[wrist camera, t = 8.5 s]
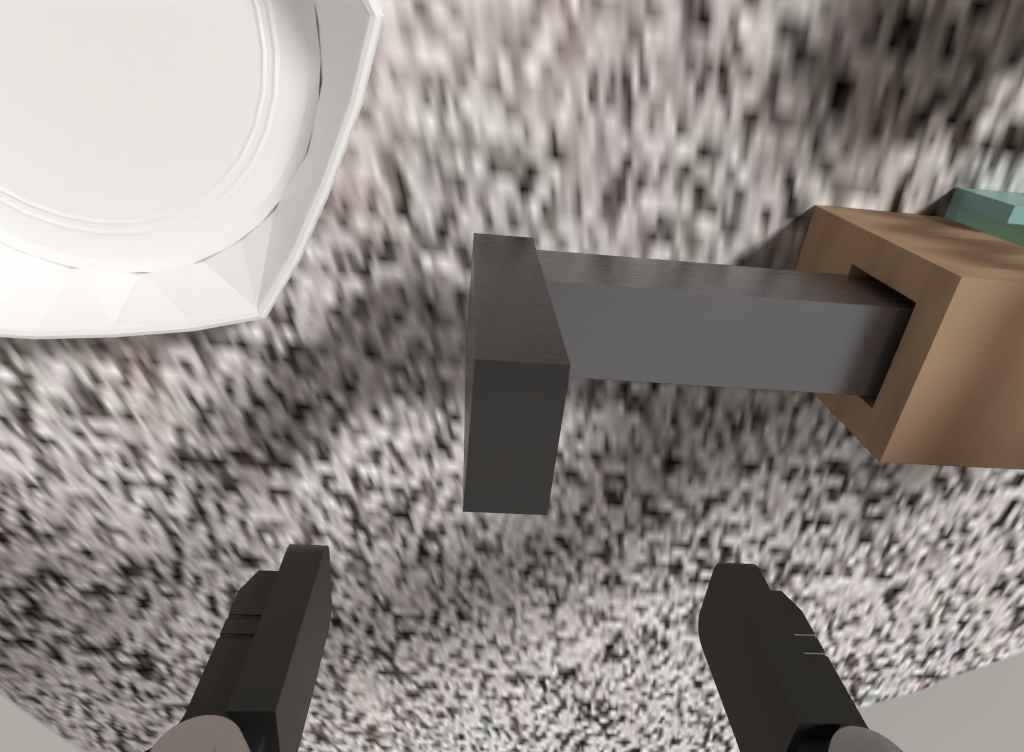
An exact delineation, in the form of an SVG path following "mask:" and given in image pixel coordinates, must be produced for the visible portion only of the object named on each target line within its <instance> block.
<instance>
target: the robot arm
mask: <svg viewBox="0 0 1024 752" xmlns="http://www.w3.org/2000/svg"><path fill="white" fill-rule="evenodd" d="M331 604H332V598H331V576H330V554H329V547H328V546H320V545H295V544H290V545H289V546H288V548H287V550H286V553H285V556H284V558H283V561H282V564H281V566H280V569H279V571H260V570H259V571H258V572H257V573H256V574H255V575H254V576H253V577H252V578H251V579H250V580H249V581H248V582H247V583H246V584H245V585H244V586H243V587H242V588H241V589H240V590H239V591H238V593H237V596H236V598H235V600H234V603H233V605H232V607H231V610H230V612H229V617H228V618H227V619H226V621H225V624H224V626H223V628H222V630H221V633H220V638H218V640H217V642H216V644H215V647H214V649H213V651H212V654H211V656H210V658H209V661H208V663H207V665H206V667H205V670H204V672H203V674H202V677H201V679H200V681H199V684H198V686H197V688H196V691H195V693H194V695H193V698H192V700H191V702H190V704H189V707H188V709H187V711H186V713H185V715H184V717H183V718H182V720H181V721H180V723H179V724H178V725H176V726H175V727H173V728H172V729H170V730H169V731H168V732H166V733H165V734H164V735H163V736H162V737H161V738H160V739H159V740H158V741H157V742H156V744H155V745H154V746H153V747H152V748H150V749H149V750H147V751H145V752H298V749H299V745H300V741H301V737H302V733H303V729H304V725H305V721H306V717H307V713H308V709H309V706H310V702H311V698H312V694H313V690H314V686H315V682H316V678H317V674H318V670H319V666H320V662H321V658H322V654H323V650H324V646H325V642H326V638H327V634H328V630H329V624H330V617H331ZM698 631H699V638H700V643H701V646H702V649H703V651H704V654H705V657H706V660H707V662H708V665H709V668H710V670H711V673H712V676H713V679H714V681H715V684H716V687H717V690H718V692H719V695H720V698H721V700H722V703H723V706H724V709H725V711H726V714H727V717H728V719H729V722H730V725H731V728H732V730H733V733H734V736H735V738H736V741H737V744H738V747H739V749H740V752H903V751H902V750H901V749H900V748H899V747H897V746H896V745H895V744H894V743H893V742H891V741H890V740H889V739H887V738H886V737H884V736H882V735H881V734H879V733H877V732H875V731H873V730H870V729H869V728H868V727H867V725H866V724H865V722H864V720H863V718H862V717H861V715H860V713H859V711H858V709H857V708H856V706H855V704H854V702H853V701H852V699H851V697H850V695H849V694H848V692H847V690H846V688H845V686H844V685H843V683H842V681H841V679H840V678H839V676H838V674H837V672H836V671H835V669H834V667H833V665H832V663H831V662H830V660H829V658H828V656H825V651H824V649H823V647H822V646H821V644H820V642H819V640H818V639H817V638H815V636H814V632H813V630H812V628H811V626H810V624H809V623H808V621H807V619H806V617H805V616H804V614H803V612H802V611H801V610H800V609H799V608H798V607H797V606H796V605H795V604H794V603H793V602H792V601H791V600H790V599H789V598H788V597H787V596H786V595H785V594H784V593H783V592H782V591H772V590H770V588H769V586H768V584H767V582H766V580H765V578H764V577H763V575H762V573H761V571H760V569H759V568H758V567H757V566H756V565H754V564H738V563H718V564H717V565H716V566H715V568H714V570H713V573H712V576H711V579H710V582H709V585H708V589H707V592H706V595H705V598H704V601H703V604H702V607H701V610H700V614H699V620H698Z"/></svg>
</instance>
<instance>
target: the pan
mask: <svg viewBox="0 0 1024 752" xmlns="http://www.w3.org/2000/svg"><path fill="white" fill-rule="evenodd" d="M383 18H384V15H383V13H382V11H381V9H380V6H379V4H378V2H377V0H0V337H7V338H22V339H65V338H104V337H124V336H137V335H150V334H163V333H176V332H189V331H197V330H203V329H209V328H214V327H220V326H225V325H231V324H237V323H242V322H248V321H253V320H259V319H264V318H267V316H268V314H269V313H270V311H271V309H272V307H273V306H274V304H275V302H276V301H277V299H278V297H279V296H280V294H281V292H282V290H283V289H284V287H285V285H286V284H287V282H288V280H289V279H290V277H291V275H292V274H293V272H294V270H295V268H296V267H297V265H298V263H299V262H300V260H301V258H302V255H303V253H304V251H305V248H306V246H307V244H308V242H309V239H310V237H311V235H312V232H313V230H314V228H315V226H316V223H317V221H318V219H319V216H320V214H321V212H322V209H323V207H324V205H325V203H326V200H327V198H328V196H329V193H330V191H331V189H332V186H333V183H334V181H335V178H336V175H337V173H338V170H339V167H340V164H341V162H342V159H343V156H344V153H345V151H346V148H347V145H348V142H349V140H350V137H351V134H352V131H353V129H354V126H355V123H356V120H357V118H358V115H359V112H360V110H361V107H362V103H363V99H364V95H365V91H366V87H367V83H368V79H369V75H370V71H371V67H372V63H373V59H374V55H375V51H376V46H377V42H378V38H379V34H380V30H381V26H382V22H383Z"/></svg>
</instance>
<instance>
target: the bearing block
mask: <svg viewBox="0 0 1024 752" xmlns="http://www.w3.org/2000/svg"><path fill="white" fill-rule="evenodd" d="M795 271H806V272H819V273H831V274H843V275H856V276H868V277H875V278H876V279H878V280H880V281H881V282H883V283H885V284H886V285H888V286H890V287H891V288H893V289H895V290H896V291H898V292H900V293H901V294H903V295H905V296H906V297H908V298H910V299H911V300H913V301H915V302H916V305H915V308H914V310H913V313H912V315H911V317H910V320H909V322H908V325H907V327H906V329H905V332H904V334H903V337H902V339H901V342H900V344H899V346H898V349H897V351H896V354H895V356H894V358H893V361H892V363H891V366H890V368H889V370H888V373H887V375H886V378H885V380H884V382H883V385H882V387H881V390H880V392H879V394H878V396H863V395H847V394H830V393H814V392H813V393H814V394H815V395H816V396H817V397H818V398H819V399H820V400H821V401H822V402H823V403H824V404H825V405H826V406H827V407H828V408H829V409H830V410H831V412H832V413H833V414H834V415H835V416H836V417H837V418H838V419H839V420H840V421H841V422H842V423H843V424H844V425H845V426H846V427H847V428H848V429H849V430H850V431H851V432H852V433H853V434H854V436H855V437H856V438H857V439H858V440H859V441H860V442H861V443H862V444H863V445H864V446H865V447H866V448H867V449H868V450H869V451H870V452H871V453H872V454H873V455H874V456H875V457H876V458H877V460H878V461H879V462H888V463H907V464H926V465H946V466H965V467H984V468H1004V469H1023V470H1024V247H1022V246H1019V245H1016V244H1014V243H1011V242H1009V241H1006V240H1003V239H1001V238H998V237H996V236H993V235H990V234H988V233H985V232H982V231H980V230H977V229H975V228H972V227H969V226H967V225H964V224H961V223H959V222H956V221H954V220H951V219H948V218H946V217H940V216H929V215H918V214H907V213H896V212H885V211H874V210H863V209H852V208H841V207H830V206H819V205H815V208H814V211H813V214H812V217H811V220H810V223H809V227H808V230H807V233H806V236H805V239H804V243H803V246H802V249H801V252H800V255H799V258H798V262H797V265H796V268H795Z"/></svg>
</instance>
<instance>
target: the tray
mask: <svg viewBox="0 0 1024 752" xmlns="http://www.w3.org/2000/svg"><path fill="white" fill-rule="evenodd" d="M944 217H946V218H948V219H951V220H954V221H956V222H959V223H961V224H964V225H967V226H969V227H972V228H975V229H977V230H980V231H982V232H985V233H988V234H990V235H993V236H996V237H998V238H1001V239H1003V240H1006V241H1009V242H1011V243H1014V244H1016V245H1019V246H1022V247H1024V194H1021V193H1011V192H1001V191H990V190H980V189H969V188H959V187H956V189H955V191H954V194H953V196H952V198H951V201H950V203H949V206H948V208H947V211H946V213H945V215H944Z"/></svg>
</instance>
